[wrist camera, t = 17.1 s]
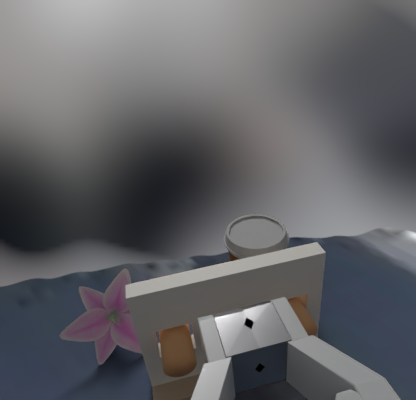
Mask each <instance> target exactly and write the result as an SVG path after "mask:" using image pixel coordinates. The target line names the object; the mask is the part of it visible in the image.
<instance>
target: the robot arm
mask: <svg viewBox="0 0 416 400" xmlns="http://www.w3.org/2000/svg"><path fill="white" fill-rule="evenodd" d="M197 322H198V328H199V334H200V341H201V346H202V351H203V357H204V361H205V364H203V367H202V370H201V373H200V375H199V378H198V381H197V383H196V386H195V389H194V392H193V394H192V397H191V400H234V399H235V394H236V393H240V392H243V391H246V390H249V389H252V388H256V387H259V386H262V385H266V384H270V383H274V382H278V381H282V380H286V381H287V382H288V383H289V384H290V385H292V386H293V387H294V388H295V389H296V390H297V391H299V392H300V393H301V394H302V395H303V396H304V397H305V398H307V399H308V400H400V398H399V397H398V396H397V394H396V393H395V391H394V390H393V389H392V387H391V386H390V384H389V383H388V382H387V380H386V379H385V378H384V377H382V376H381V375H379V374H377V373H376V372H374V371H372V370H371V369H369V368H367V367H366V366H364V365H362V364H361V363H359V362H357V361H356V360H354V359H352V358H351V357H349V356H347V355H346V354H344V353H342V352H341V351H339V350H337V349H336V348H334V347H332V346H331V345H329V344H327V343H326V342H324V341H322V340H320V339H319V338H317V337H315V336H314V335H311V336H308V334H307V332H306V331H305V329H304V327H303V326H302V324H301V322H300V320H299V319H298V317H297V315H296V314H295V312H294V310H293V308H292V307H291V305H290V303H289V302H288V300H287V299H286V298H285V297H282V298H278V299H274V300H270V301H265V302H261V303H258V304H254V305H250V306H246V307H242V308H240V309H235V310H231V311H226V312H222V313H217V314H213V315H209V316H204V317H200V318H197Z"/></svg>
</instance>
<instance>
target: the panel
mask: <svg viewBox="0 0 416 400" xmlns="http://www.w3.org/2000/svg"><path fill="white" fill-rule="evenodd" d="M325 254H326V252H325V251H324V250H323V249H322V248H321V246H320V245H319V244H318V243H317V242H315V243H311V244H306V245H302V246H297V247H293V248H288V249H284V250H280V251H275V252H271V253H266V254H262V255H257V256H253V257H248V258H244V259H239V260H235V261H230V262H226V263H222V264H217V265H213V266H208V267H204V268H199V269H195V270H190V271H186V272H181V273H177V274H173V275H168V276H164V277H159V278H155V279H150V280H146V281H141V282H137V283H132V284H128V285H125V286H126V301H127V305H128V308H129V311H130V315H131V318H132V321H133V324H134V328H135V331H136V334H137V338H138V341H139V344H140V348H141V351H142V354H143V358H144V361H145V364H146V368H147V371H148V374H149V378H150V381H151V384H152V390H153V400H191V397H192V394H193V392H194V389H195V386H196V383H197V381H198V378H199V375H200V373H201V370H202V367H203V364H205V361H204V357H203V351H202V346H201V341H200V334H199V328H198V322H197V318H200V317H204V316H209V315H213V314H217V313H222V312H226V311H231V310H235V309H240V308H242V307H246V306H250V305H254V304H258V303H261V302H265V301H270V300H274V299H278V298H282V297H285V298H286V299H290V298H295V297H299V296H300V297H299V299H300V300H301V302H302V303H303V305H304V307H305V308H306V310H307V311H308V313H309V315H310V316H311V318H312V319H313V321H314V323H315V324H316V326H317V329H318V325H319V315H320V305H321V295H322V285H323V275H324V264H325ZM189 323H192V328H193V335H191V338H192V343H193V348H194V352H195V357H196V362H197V365H196V367H195V369H194V370H193V371H192V372H191V373H189V374H187V375H185V376H182V377H170V376H167V375H166V374H165V373H164V371H163V364H162V356H161V347H160V343H158V340H157V336H156V332H157V331H161V330H165V329H169V328H173V327H177V326H181V325H185V324H189ZM317 336H318V330H317V334H316V335H315V337H317Z"/></svg>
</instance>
